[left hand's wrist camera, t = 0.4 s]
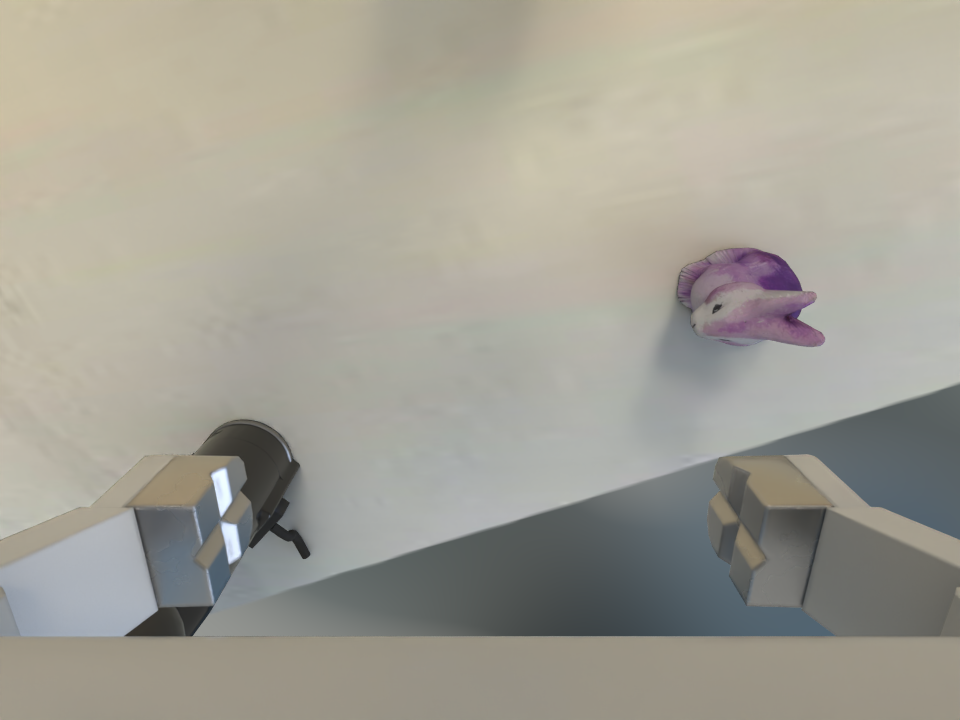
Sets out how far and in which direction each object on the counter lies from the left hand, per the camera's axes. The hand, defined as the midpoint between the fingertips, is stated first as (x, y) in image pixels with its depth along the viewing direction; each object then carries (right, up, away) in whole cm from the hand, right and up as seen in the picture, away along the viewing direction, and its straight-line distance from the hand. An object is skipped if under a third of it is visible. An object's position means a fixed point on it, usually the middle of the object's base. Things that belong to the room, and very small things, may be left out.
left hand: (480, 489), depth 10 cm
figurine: (+24, +9, +47) cm, 53 cm away
